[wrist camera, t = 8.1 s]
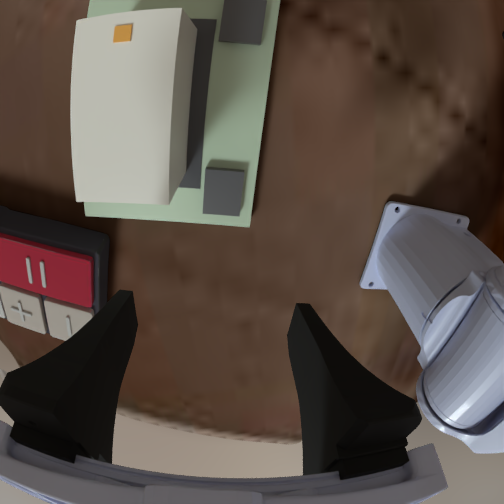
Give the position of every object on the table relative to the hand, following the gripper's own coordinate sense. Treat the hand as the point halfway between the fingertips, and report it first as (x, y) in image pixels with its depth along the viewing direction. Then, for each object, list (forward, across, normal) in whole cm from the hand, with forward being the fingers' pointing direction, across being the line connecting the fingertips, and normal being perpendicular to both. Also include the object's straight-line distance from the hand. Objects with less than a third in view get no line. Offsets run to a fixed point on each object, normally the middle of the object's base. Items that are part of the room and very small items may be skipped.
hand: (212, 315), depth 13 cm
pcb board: (+10, +4, -8) cm, 13 cm away
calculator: (+11, +17, +6) cm, 21 cm away
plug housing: (+9, +5, -8) cm, 13 cm away
